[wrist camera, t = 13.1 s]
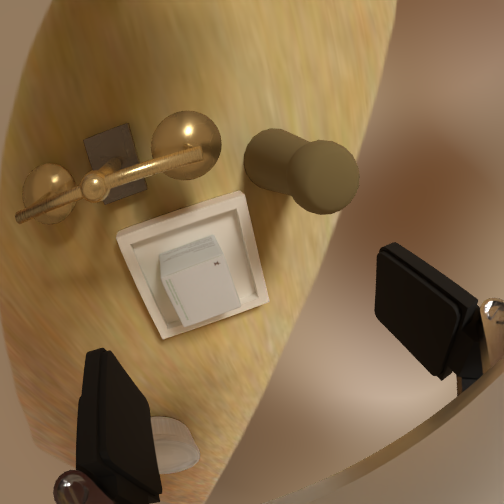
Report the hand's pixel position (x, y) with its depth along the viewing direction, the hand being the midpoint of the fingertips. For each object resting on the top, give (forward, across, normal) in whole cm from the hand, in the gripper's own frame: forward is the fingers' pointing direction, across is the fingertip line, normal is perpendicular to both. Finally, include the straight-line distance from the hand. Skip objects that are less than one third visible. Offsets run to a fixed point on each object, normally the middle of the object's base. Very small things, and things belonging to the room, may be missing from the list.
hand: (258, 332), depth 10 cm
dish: (+20, +1, +8) cm, 22 cm away
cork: (+21, -9, 0) cm, 22 cm away
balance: (+20, +5, -4) cm, 21 cm away
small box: (+20, +2, +8) cm, 21 cm away
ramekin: (+20, +16, +33) cm, 41 cm away
